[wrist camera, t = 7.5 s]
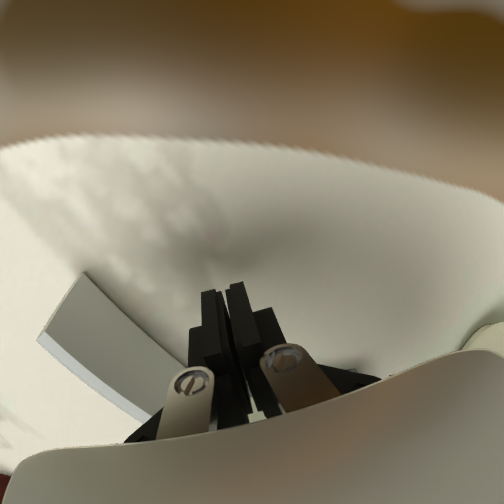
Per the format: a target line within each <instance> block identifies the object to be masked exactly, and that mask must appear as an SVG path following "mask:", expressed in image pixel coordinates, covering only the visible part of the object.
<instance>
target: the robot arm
mask: <svg viewBox="0 0 504 504" xmlns="http://www.w3.org/2000/svg"><path fill="white" fill-rule="evenodd" d="M225 292H226V298H227V303H228V309H229V314H228V311H227V308H226V305H225V301H224V298H223V295H222V292H221V291H219V292H216V290H215V289H212V290H209V291H205V292H201V313H202V326H199V327H195V328H191V329H189V348H188V368H187V369H185V370H183V371H181V372H179V373H178V374H177V375H176V376H175V377H174V378H173V379H172V381H171V383H170V385H169V389H168V393H167V397H166V400H165V404H164V407H162V408H161V409H160V410H159V411H158V412H157V413H156V414H155V415H153V416H152V417H151V418H150V419H149V420H148V421H147V422H145V423H144V424H143V425H142V426H141V427H140V428H138V429H137V430H136V431H135V432H134V433H133V434H131V435H130V436H129V437H128V438H127V439H126V440H125V441H124V443H123V444H118V443H117V444H111V445H94V446H79V447H64V448H56V449H51V450H47V451H43V452H40V453H37V454H34V455H32V456H30V457H28V458H26V459H24V460H23V461H21V462H20V463H19V464H18V466H17V467H16V469H15V470H14V472H13V474H12V476H11V479H10V481H9V484H8V486H7V489H6V491H5V494H4V497H3V501H2V504H504V356H503V355H502V354H500V353H498V352H496V351H493V350H490V349H484V348H476V349H467V350H461V351H455V352H452V353H448V354H445V355H441V356H438V357H436V358H433V359H430V360H428V361H425V362H422V363H420V364H418V365H416V366H413V367H411V368H409V369H406V370H404V371H401V372H399V373H397V374H393V375H389V377H387V378H385V379H380V378H378V377H375V376H371V375H366V374H361V373H356V372H351V371H347V370H342V369H338V368H333V367H329V366H324V365H320V364H316V362H315V361H314V360H313V359H312V357H311V356H310V355H309V353H308V352H307V351H306V350H305V349H304V348H303V347H302V346H299V345H297V344H291V343H286V340H285V338H284V336H283V333H282V331H281V328H280V326H279V324H278V321H277V319H276V317H275V314H274V312H273V309H272V307H270V308H266V309H263V310H259V311H255V312H252V309H251V306H250V303H249V299H248V296H247V293H246V289H245V286H244V283H243V281H242V282H238V283H235V284H231V285H230V289H227V290H225ZM229 315H230V317H229ZM247 383H248V386H249V389H250V392H251V394H252V397H253V400H254V403H255V405H256V408H257V411H258V412H260V411H263V413H264V416H265V417H266V418H267V419H264V420H260V421H256V422H252V423H250V422H249V417H248V414H252V413H253V409H252V404H251V400H250V395H249V391H248V386H247Z"/></svg>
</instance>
